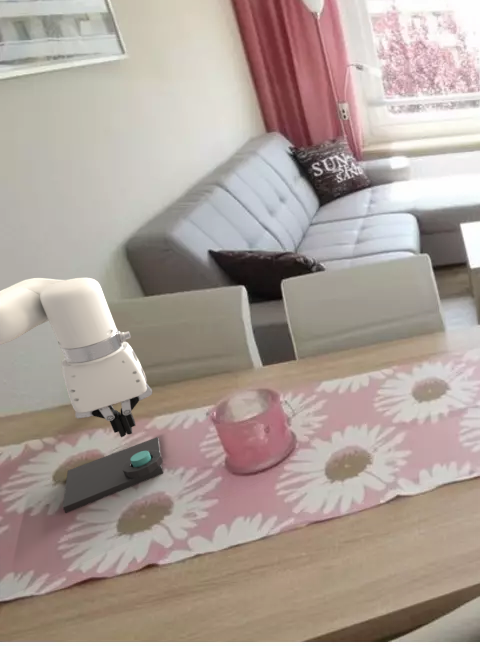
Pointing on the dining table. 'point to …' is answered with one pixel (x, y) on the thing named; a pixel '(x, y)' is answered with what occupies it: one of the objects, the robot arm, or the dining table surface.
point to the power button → (140, 458)
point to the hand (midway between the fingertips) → (126, 431)
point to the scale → (110, 475)
